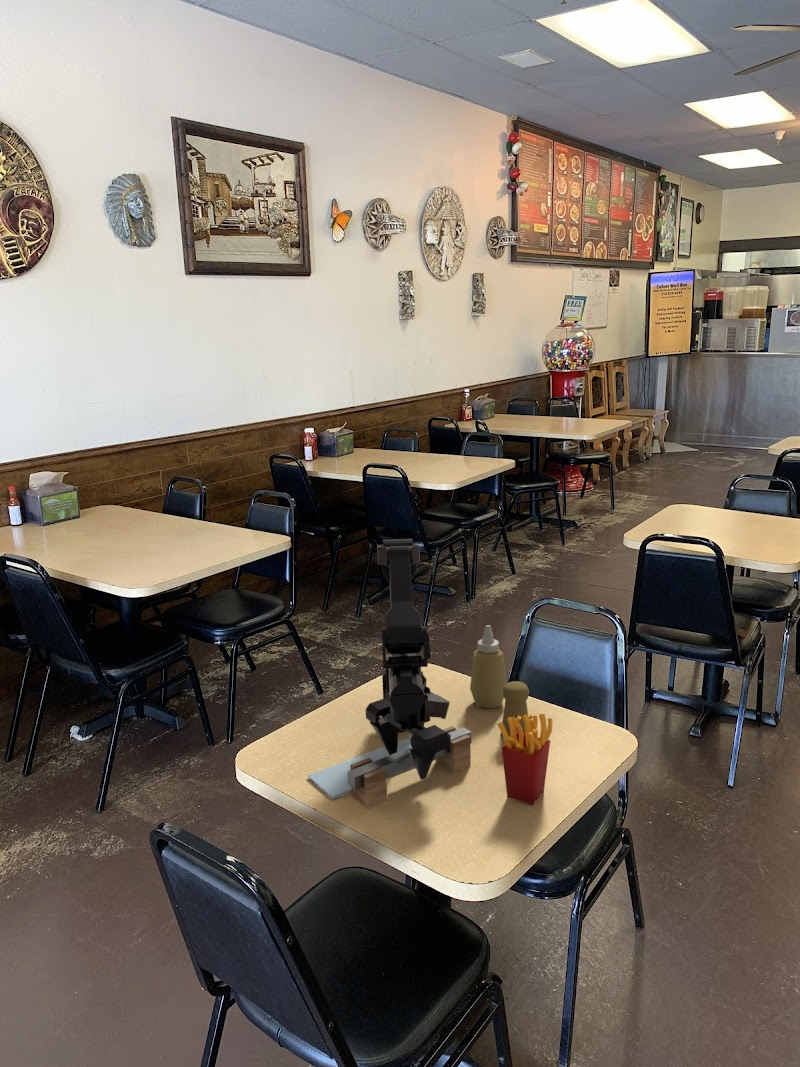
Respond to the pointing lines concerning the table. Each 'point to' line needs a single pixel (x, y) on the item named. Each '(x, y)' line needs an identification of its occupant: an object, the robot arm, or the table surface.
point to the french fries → (525, 757)
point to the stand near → (371, 786)
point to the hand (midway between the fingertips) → (408, 767)
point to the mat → (337, 776)
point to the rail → (395, 762)
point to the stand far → (456, 753)
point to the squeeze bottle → (488, 672)
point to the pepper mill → (515, 703)
